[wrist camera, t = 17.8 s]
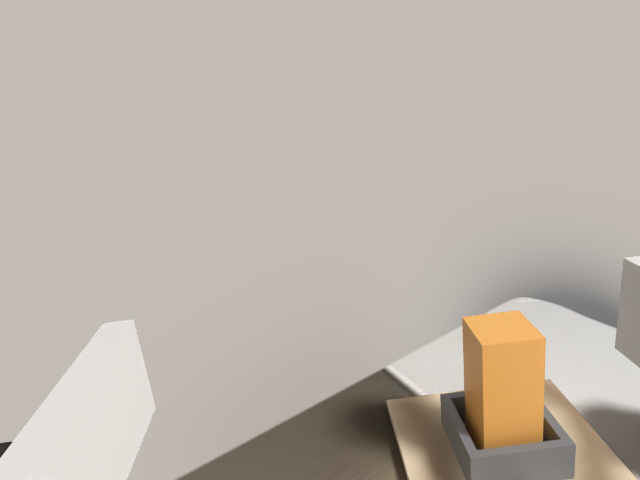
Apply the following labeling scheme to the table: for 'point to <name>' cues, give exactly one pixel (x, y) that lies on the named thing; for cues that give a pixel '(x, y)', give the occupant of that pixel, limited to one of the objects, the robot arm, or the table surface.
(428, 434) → the mounting board
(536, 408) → the connector plug
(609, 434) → the table surface
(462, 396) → the socket cup
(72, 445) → the robot arm
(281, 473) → the table surface
